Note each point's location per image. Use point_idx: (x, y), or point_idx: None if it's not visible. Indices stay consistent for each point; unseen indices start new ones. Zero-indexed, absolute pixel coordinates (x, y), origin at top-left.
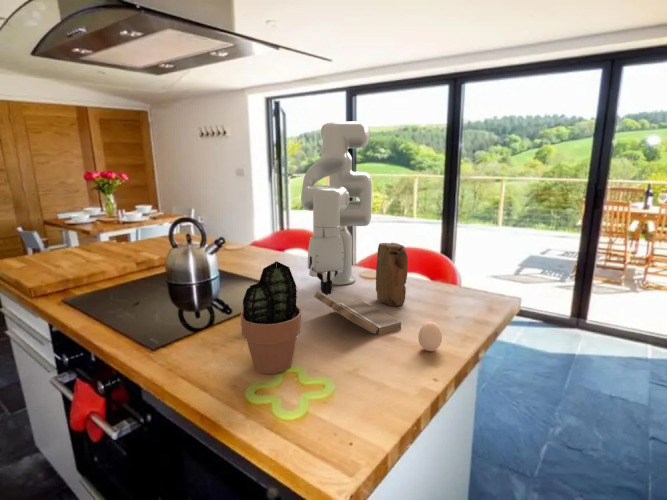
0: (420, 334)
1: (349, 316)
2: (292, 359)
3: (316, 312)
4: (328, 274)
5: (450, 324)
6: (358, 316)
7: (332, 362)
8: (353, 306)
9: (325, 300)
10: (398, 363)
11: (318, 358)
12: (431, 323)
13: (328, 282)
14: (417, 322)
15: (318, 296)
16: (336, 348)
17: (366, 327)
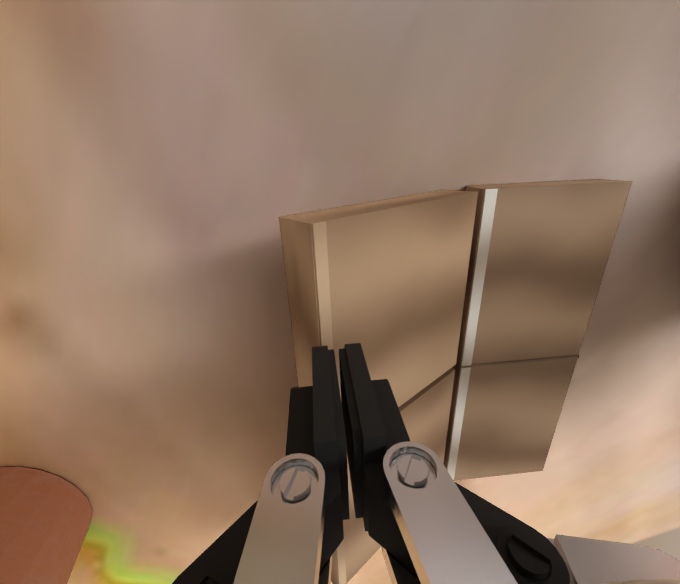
0: None
1: None
2: (82, 542)
3: (324, 158)
4: (422, 526)
5: (667, 470)
6: None
7: (216, 535)
8: (516, 267)
9: (309, 384)
10: (370, 569)
11: (182, 513)
12: None
13: (348, 517)
14: (610, 430)
15: (298, 287)
16: (258, 485)
17: None
